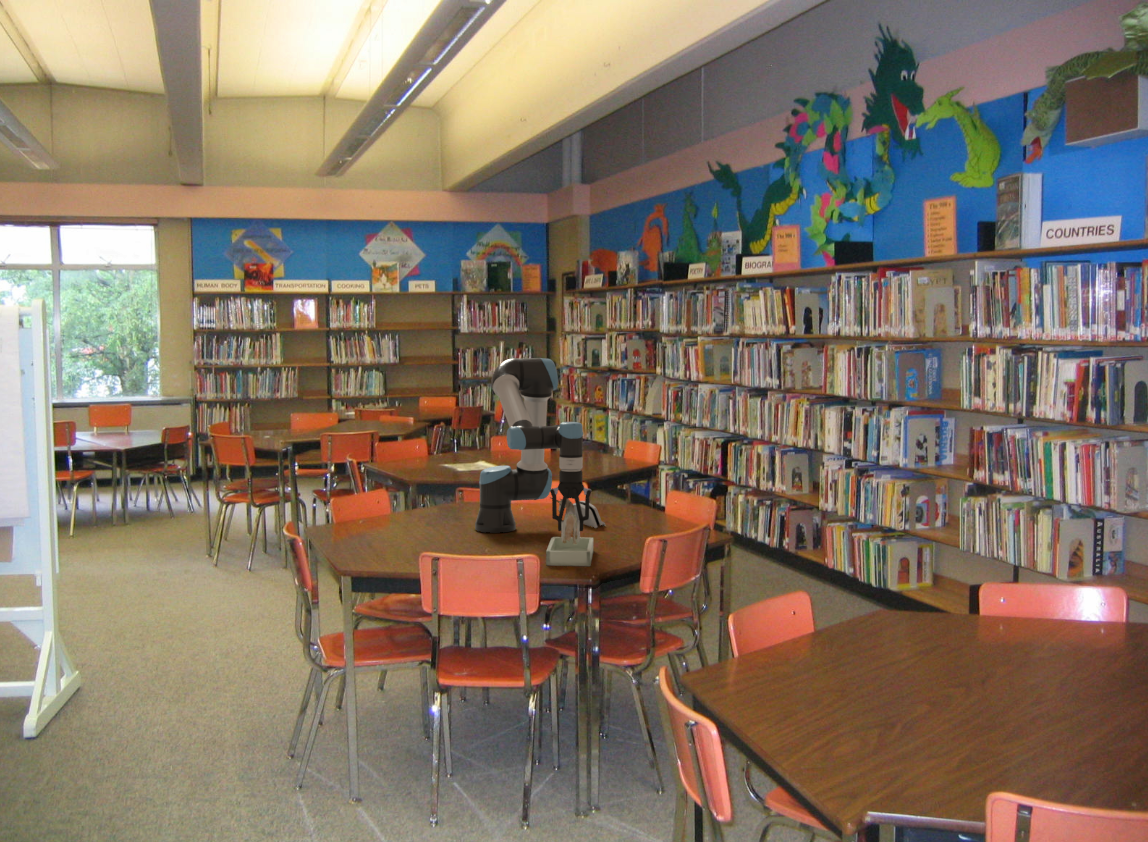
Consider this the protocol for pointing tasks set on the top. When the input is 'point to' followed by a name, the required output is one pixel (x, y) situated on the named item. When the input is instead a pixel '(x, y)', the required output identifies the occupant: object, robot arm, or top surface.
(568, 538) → the unicorn figurine
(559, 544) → the tray
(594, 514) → the grey curved block
